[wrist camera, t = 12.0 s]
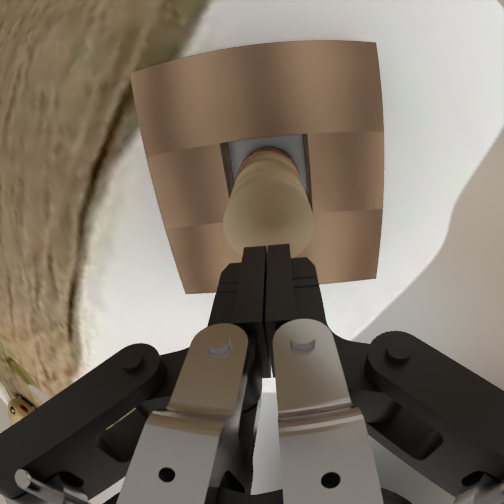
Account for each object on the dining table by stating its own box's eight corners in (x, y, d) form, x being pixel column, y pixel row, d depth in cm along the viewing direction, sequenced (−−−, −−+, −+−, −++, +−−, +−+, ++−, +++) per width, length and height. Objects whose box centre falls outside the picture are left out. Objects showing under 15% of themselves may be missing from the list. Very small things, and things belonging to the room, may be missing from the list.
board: (193, 273, 27) (185, 294, 24) (146, 74, 17) (129, 73, 15) (366, 258, 25) (375, 278, 22) (361, 48, 16) (375, 42, 13)
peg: (245, 196, 22) (230, 268, 14) (237, 145, 20) (214, 187, 12) (297, 191, 22) (316, 261, 13) (292, 139, 20) (312, 177, 11)
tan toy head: (42, 408, 56) (30, 435, 47) (36, 412, 61) (25, 436, 52) (16, 388, 53) (2, 415, 44) (13, 394, 58) (1, 418, 48)
